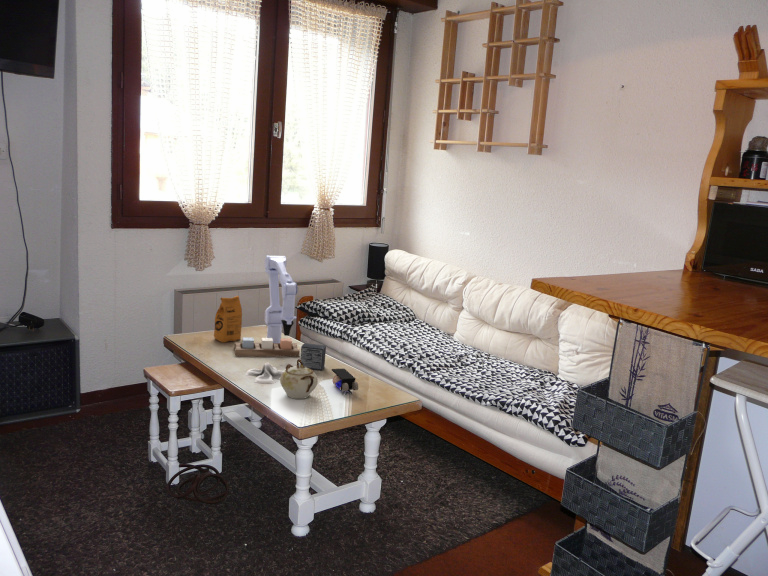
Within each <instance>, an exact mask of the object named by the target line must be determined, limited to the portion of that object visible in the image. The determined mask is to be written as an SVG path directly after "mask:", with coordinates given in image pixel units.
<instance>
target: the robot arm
mask: <svg viewBox="0 0 768 576" xmlns="http://www.w3.org/2000/svg"><path fill="white" fill-rule="evenodd" d="M286 267H287V257H286V255H268V254H267V255H266V256H265V258H264V272H265V273H267V274H268V286H269V288H268V289H269V306H268V307H266V309H265V310H264V317H263V318H264V323H265V324H266V326H267V327H266V328H267V331H266V338H272V339H273V343H280V338H282V330H283V335H284V336H290V334H291V329H292V327H293V326H294V324H295V323H294V320H296V319H297V316H296V315H295V305H296V296H297V295H298V289H299V288H298V284H297V282H295V281H294V280H293V278H292V276H291V274H290V273H289V272H288V271H287V269H286ZM279 282H280V283H279ZM280 286H281V295H282V296H281V297H282V306H281V302H280V301H281V300H280Z"/></svg>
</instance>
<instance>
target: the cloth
mask: <svg viewBox="0 0 768 576" xmlns="http://www.w3.org/2000/svg"><path fill="white" fill-rule="evenodd" d="M284 371H285V370H280V369H277V367H274V366H272V365H271V363H270V362H265V363H264V364H263V366H262V368H261V369H259V368H250V369H248V370H247V371H246V372H245V375H244V376H246V377H249V376H254V377H255V378H254V381H253V383H255V384H275V383H276V381H275V380H274V379H275V378H276V379H277V380H278V381H280V377H281V375H282V373H283V372H284Z"/></svg>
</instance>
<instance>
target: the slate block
mask: <svg viewBox="0 0 768 576" xmlns="http://www.w3.org/2000/svg"><path fill="white" fill-rule="evenodd" d="M254 343H255V339H254V337H248V336H247V337H244V336H243V337H242V347H243V348H250V349H253V347H254Z"/></svg>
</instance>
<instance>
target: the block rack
mask: <svg viewBox="0 0 768 576" xmlns="http://www.w3.org/2000/svg"><path fill="white" fill-rule="evenodd" d="M233 349H234V356H235V357H241V356H243V357H245V356H247V357H289V356H290V357H296V358H297V357H300V354H301V350H300V349H299V348H298V344H297V343H294V342H292V348H291V349H281V348H280V343H273V349H262V347H261V342H254V347H253V349H250V348H243V347H242V342H240V341H238V342H237V341H234V348H233Z"/></svg>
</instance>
